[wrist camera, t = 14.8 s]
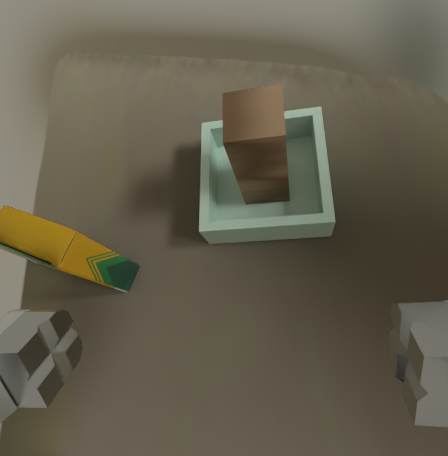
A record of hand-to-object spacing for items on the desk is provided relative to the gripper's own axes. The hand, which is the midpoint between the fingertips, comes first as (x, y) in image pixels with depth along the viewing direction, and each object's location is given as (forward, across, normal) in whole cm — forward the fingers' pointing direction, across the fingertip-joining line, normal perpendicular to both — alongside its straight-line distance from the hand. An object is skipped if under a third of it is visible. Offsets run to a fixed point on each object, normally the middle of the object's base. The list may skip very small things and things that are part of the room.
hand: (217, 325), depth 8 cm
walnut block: (+23, 0, +4) cm, 24 cm away
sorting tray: (+24, 0, +4) cm, 24 cm away
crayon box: (+19, +16, +9) cm, 26 cm away
